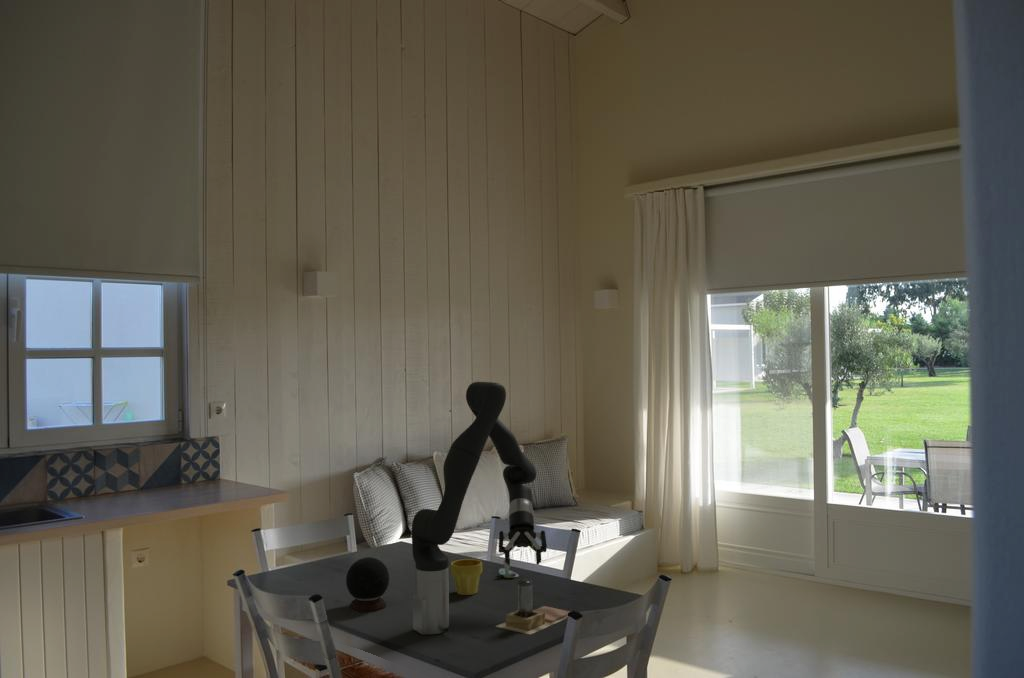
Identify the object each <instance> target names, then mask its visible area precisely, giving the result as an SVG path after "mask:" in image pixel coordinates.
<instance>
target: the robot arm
mask: <svg viewBox="0 0 1024 678" xmlns="http://www.w3.org/2000/svg"><path fill="white" fill-rule="evenodd" d="M506 396H507V392H506V388H505V386H504V385H503V384H501V383H498V382H492V381H474V382H472V383H471V384H469V385H468V387H467V389H466V392H465V401H466V403H467V406H468V407H469V409H470V411H471V412H472V413H473V415H474V416H475V419H474V420H473V421H472V423H471V424H470V425H469V426H468V427H467V428H466V429H464V431H463V432H461V433H460V435H459V436H458V437H456V438H455V440H454V441H453V442H452V444H451V445H450V447H449V450H448V453H447V455H446V457H445V460H444V462H443V469H442V470H443V471H442V472H443V481H444V492H443V495H442V499H441V502H440V504H439V505H438V508H437V509H430V508H422V509H420V510H418V511H417V512H416V514H415V515H414V517H413V519H412V523H411V543H412V545H411V546H412V548H411V549H412V558H413V560H414V562H415V594H413V597H412V611H413V612H412V613H413V614H412V616H413V617H412V625H413V626H412V628H413V630H414V631H416V632H417V633H419V634H421V636H424V635H425V636H426V635H438V634H443V633H445V632H448V631H449V629H447V628H448V627H449V626H450V600H449V598H450V596H449V593H450V590H449V589H450V588H449V586H450V585H449V582H450V581H449V579H450V577H449V575H450V574H449V568H450V567H449V566H450V564H449V563H450V562H449V558H448V556H447V554H446V553H444V552H443V551H442V549H441V548H440V546H442V545H445V544H447V543H448V542H449V541H450V539H452V536H453V535H454V532H455V530H456V527H457V523H458V520H459V516H460V512H461V508H462V505H463V502H464V499H465V496H466V494H467V491H468V488H469V485H470V483H471V481H472V478H473V477H474V476H473V475H474V474H475V471H476V469H477V466H478V465H479V461H480V459H481V455H482V453H483V451H484V448H485V447H486V443H487V441H488V440H489V439H488V438H490V440H491V442H492V443H493V446H494V448H495V450H496V452H497V454H498V457H499V459H500V460H501V463H502V464H504V465H506V466H505V467H504V469H503V470H502V471H503V472H502V477H503V480H504V483H505V485H506V488H507V491H508V497H509V499H508V500H509V508H508V522H509V523H508V524H509V525H508V526H509V529H508V530H509V531H508V532H507V533H506V532H504V531H502V530H500V531H499V534H498V535H499V536H498V553H500V554H501V553H503V554H504V560H505V563H507V565H510V566H511V555H510V552H511V551H513V550H514V549H515V548H516V547H517V548H528V547H529V548H530V549H531V550H532V551H534V552H535V562H536V565H537V566H539V565H540V563H542V553H546V552H547V547H548V545H547V537H546V531H545V530H541V531H540V532H536V530H535V523H534V522H535V521H534V519H535V518H534V517H535V516H534V509H533V501H532V490H531V488H530V487H529V486H528V485H527V484H530V483H533V482H534V481H535V480H536V478H537V470H536V468H535V466H534V464H533V463H532V462H531V460H530V459H529V457H527V456H526V455H525V453H524V452H523V451H522V450H521V448H520V446H519V442H518V441H517V438H516V436H515V435H514V433H513V432H512V430H510V429H509V427H507V426H506V425H505V424H504V422H502V421H501V420H500V418H499V417H500V414H501V413H502V411H503V409H504V406H505V403H506V399H507V397H506ZM536 538H538V540H539V541H540V543H541V545H540V544H538V543H537V540H536ZM507 539H509V541H508V543H507V545H506V546H504V542H505V541H506V540H507Z"/></svg>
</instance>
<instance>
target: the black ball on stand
mask: <svg viewBox="0 0 1024 678" xmlns="http://www.w3.org/2000/svg"><path fill="white" fill-rule="evenodd" d="M345 583H346V588H347V590H348V592H349V594H350V595H351V596H352V597H353V598H355V599H353V600H352V601H351V602H350V603H349V607H348V608H350V609H351V610H350V609H349V610H350V611H352V610H353V611H352V612H355V611H357V612H356V613H373V611H374V612H378V611H381V610H384V609H386V607H387V602H386V601H385V599H383V598H382V596H384V594H385V593H386V591H387V589H388V587H389V584H390V573H389V569H388V568H387V565H385V564H384V562H382V561H381V560H379V558H378V559H377V558H376V557H369V556H368V557H363V558H362V557H361V558H359V559H358V560H356V561H354V563H352V565H350V567H349V569H348V570H347V573H346V579H345Z"/></svg>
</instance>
